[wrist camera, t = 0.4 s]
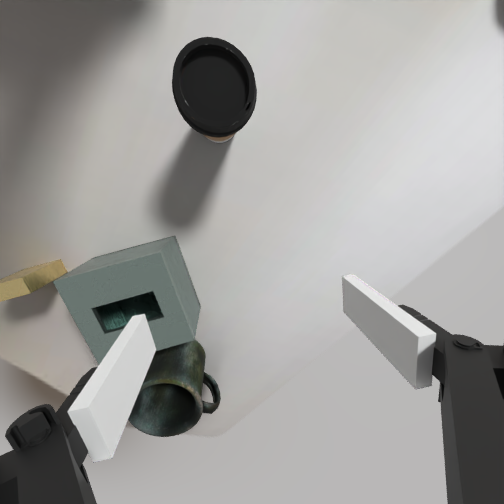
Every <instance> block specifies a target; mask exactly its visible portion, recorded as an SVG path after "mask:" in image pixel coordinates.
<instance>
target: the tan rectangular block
mask: <svg viewBox="0 0 504 504" xmlns="http://www.w3.org/2000/svg"><path fill="white" fill-rule="evenodd" d="M65 273H67V270H66V268H65V267H64V265H63V263H62V261H61V259H59V260H56V261H52V262H48V263H45V264H41V265H37V266H34V267H30V268H26V269H23V270H21V271H19V272H16V273H14V274H12V275H9V276H7V277H5V278H2V279H0V302H1V301H5V300H8V299H12V298H15V297H19V296H23V295H26V294H30V293H32V292H34V291H36V290H37V289H39V288H41V287H43V286H44V285H46V284H48V283H50V282H51V281H53V280H55V279H57V278H58V277H60V276H62V275H64V274H65Z"/></svg>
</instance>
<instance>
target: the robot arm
mask: <svg viewBox="0 0 504 504" xmlns="http://www.w3.org/2000/svg"><path fill="white" fill-rule="evenodd" d="M342 288H343V311H344V313H345V314H346V315H347V316H348V317H349V318H350V319H351V320H352V322H353V323H354V324H355V325H356V326H357V327H358V328H359V329H360V330H361V331H362V332H363V333H364V335H365V336H366V337H367V338H368V339H369V340H370V341H371V342H372V343H373V344H374V345H375V346H376V348H377V349H378V350H379V351H380V352H381V353H382V354H383V355H384V356H385V357H386V358H387V359H388V361H389V362H390V363H391V364H392V365H393V366H394V367H395V368H396V369H397V370H398V371H399V372H400V374H401V375H402V376H403V377H404V378H405V379H406V380H407V381H408V382H409V383H410V384H411V385H412V387H414V389H420V388H424V387H429V386H431V385H432V375H433V376H435V377H436V378H437V379H438V380H439V381H440V389H439V399H438V402H441V415H442V429H443V444H444V457H445V471H446V485H447V498H448V499H447V500H448V504H504V345H503V346H494V345H483V344H482V343H481V342H479V341H478V340H476V339H473V338H471V337H468V336H464V335H457V334H455V335H452V334H450V333H449V332H447V331H445V330H444V329H443V328H441V327H440V326H438V325H437V324H435V323H434V322H432V321H431V320H428V318H426V317H425V316H423V315H421V314H420V313H419V312H417V311H416V310H414V309H413V308H410V307H407V306H405V305H399V306H397V305H396V304H394V303H393V302H391V301H390V300H389V299H387V298H386V297H384V296H383V295H382V294H380V293H379V292H377V291H376V290H374V289H373V288H372V287H370V286H369V285H367V284H366V283H365V282H363V281H362V280H360V279H359V278H358V277H356V276H355V275H353V274H351V275H345V276H342ZM155 352H156V347H155V344H154V341H153V338H152V335H151V331H150V328H149V325H148V322H147V319H146V316H145V314H141V315H136V316H132V318H131V319H130V321H129V322H128V324H127V325H126V327H125V328H124V329H123V331H122V332H121V334H120V335H119V337H118V338H117V340H116V341H115V343H114V344H113V346H112V347H111V348H110V350H109V351H108V353H107V354H106V356H105V357H104V359H103V360H102V362H101V363H100V365H99V366H98V367H95V368H92V369H90V370H89V371H88V372H87V373H86V374H85V375H84V376H83V377H82V378H81V379H80V380H79V382H78V383H77V385H76V387H75V388H74V389H73V390H72V391H71V393H70V395H69V396H68V397H67V398H66V400H65V401H64V402H63V404H62V405H61V407H60V408H59V409H58V411H57V412H56V413H55V411H54V409H53V407H52V406H51V405H49V404H44V405H40V406H37V407H35V408H33V409H31V410H29V411H27V412H26V413H24V414H23V415H21V416H20V417H19V418H18V419H17V420H15V421H14V422H13V423H12V424H11V426H10V427H9V428H8V430H7V431H6V435H5V437H6V438H7V440H8V441H9V443H10V445H11V446H12V448H13V449H14V450H12V451H10V452H8V453H6V454H4V455H1V456H0V504H97V503H96V500H95V497H94V494H93V492H92V488H91V485H90V482H89V479H88V477H87V473H86V470H85V468H84V466H83V464H82V463H83V461H84V459H85V457H86V455H87V453H88V454H89V455H90V458H91V460H92V462H93V463H94V462H98V461H102V460H107V459H112V458H113V455H114V453H115V450H116V448H117V445H118V443H119V441H120V438H121V436H122V433H123V430H124V428H125V426H126V423H127V421H128V418H129V416H130V413H131V411H132V408H133V406H134V403H135V401H136V399H137V396H138V394H139V391H140V389H141V386H142V384H143V381H144V379H145V376H146V374H147V371H148V369H149V366H150V364H151V361H152V359H153V357H154V354H155Z"/></svg>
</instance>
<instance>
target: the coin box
mask: <svg viewBox="0 0 504 504" xmlns="http://www.w3.org/2000/svg"><path fill="white" fill-rule="evenodd" d="M53 283H54V285H55V287H56V288H57V290H58V292H59V294H60V296H61V297H62V299H63V301H64V303H65V305H66V306H67V308H68V310H69V312H70V314H71V315H72V317H73V319H74V321H75V322H76V324H77V326H78V328H79V330H80V331H81V333H82V335H83V337H84V339H85V340H86V342H87V344H88V346H89V348H90V349H91V351H92V353H93V355H94V357H95V358H96V360H97V362H98V364H99V365H100V363H101V362H102V360H103V359H104V357H105V356H106V354H107V353H108V351H109V350H110V348H111V347H112V346H113V344H114V343H115V341H116V340H117V338H118V337H119V335H120V334H121V332H122V331H123V329H124V328H125V327H126V325H127V324H128V322H129V321H130V319H131V318H132V316H136V315H141V314H145V316H146V319H147V322H148V325H149V328H150V331H151V335H152V338H153V341H154V344H155V347H156V351H158V350H162V349H165V348H169V347H172V346H176V345H179V344H182V343H186V342H189V341H193V340H194V339H195V334H196V329H197V323H198V318H199V313H200V307H201V306H200V303H199V300H198V298H197V295H196V292H195V289H194V286H193V284H192V281H191V278H190V275H189V273H188V270H187V267H186V264H185V262H184V259H183V256H182V253H181V251H180V248H179V245H178V242H177V239H176V237H175V236H172V237H168V238H165V239H161V240H157V241H153V242H150V243H146V244H142V245H139V246H135V247H131V248H128V249H124V250H120V251H117V252H113V253H109V254H106V255H102V256H98V257H95V258H92V259H91V260H89V261H87V262H85V263H84V264H82V265H80V266H79V267H77V268H75V269H73V270H72V271H70V272H68V273H66V274H65V275H63V276H61V277H60V278H58V279H56V280H54V281H53Z"/></svg>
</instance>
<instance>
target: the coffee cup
mask: <svg viewBox="0 0 504 504" xmlns="http://www.w3.org/2000/svg"><path fill="white" fill-rule="evenodd" d="M172 88H173V95H174V99H175V102H176V105H177V107H178V110H179V112H180V114H181V115H182V117H183V118H184V120H185V121H186V122H187V123H188V124H189V125H190V126H191V127H192V128H193V129H195V130H196V131H197V132H199V133H201V134H203V135H204V136H205V137H206V138H207V139H209V140H211V141H213V142H216V143H222V142H226V141H228V140H229V139H231V138H232V137H233V136H234V134H235V133H236V132H237V131H239V130H240V129H242V127H243V126H244V125H245V124H246V123H247V122H248V120H249V119H250V117H251V116H252V113H253V111H254V108H255V104H256V95H257V89H256V82H255V77H254V73H253V70H252V67H251V65H250V63H249V62H248V60H247V58H246V57H245V56H244V55H243V54H242V52H241V51H240V50H238V49H237V48H236V47H235V46H234V45H232V44H230V43H229V42H227V41H225V40H222V39H219V38H213V37H203V38H199V39H196V40H193V41H192V42H190V43H188V44H187V45H186V46H185V47H184V48H183V49H182V50H181V51H180V53H179V55H178V56H177V58H176V61H175V64H174V69H173V79H172Z"/></svg>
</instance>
